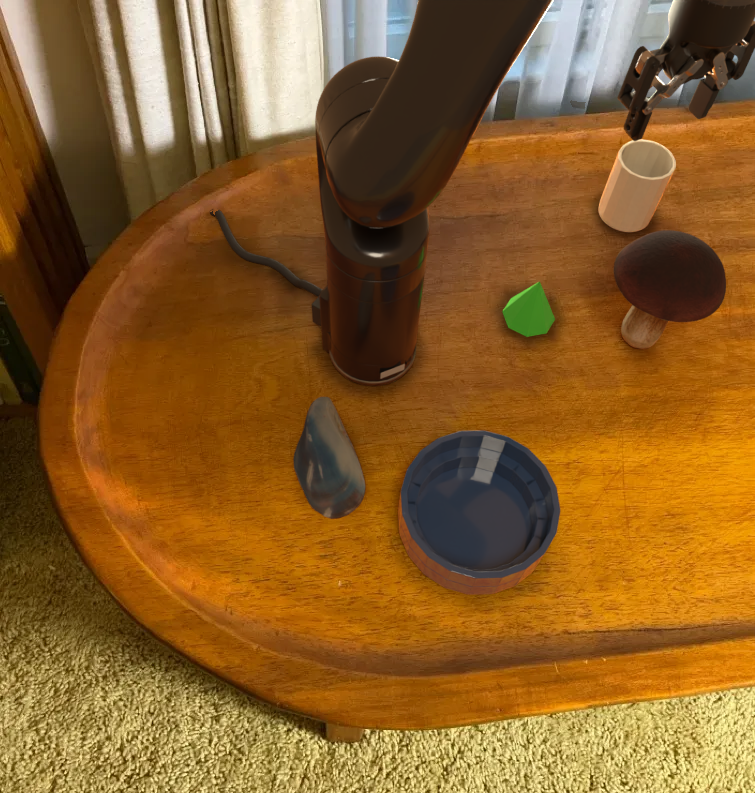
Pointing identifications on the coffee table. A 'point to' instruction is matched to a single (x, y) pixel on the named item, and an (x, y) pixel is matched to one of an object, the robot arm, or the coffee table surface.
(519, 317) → the gemstone
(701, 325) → the coffee table surface
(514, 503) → the bowl
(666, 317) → the decorative mushroom
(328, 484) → the seashell
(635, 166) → the cup
